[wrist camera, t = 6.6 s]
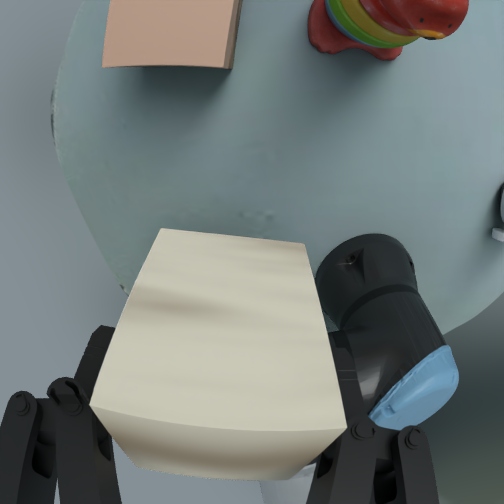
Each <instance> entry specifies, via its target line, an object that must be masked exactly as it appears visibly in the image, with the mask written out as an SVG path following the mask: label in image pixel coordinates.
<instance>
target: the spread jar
mask: <svg viewBox="0 0 504 504" xmlns="http://www.w3.org/2000/svg"><path fill="white" fill-rule="evenodd" d="M499 207H500V214H501V218H502V220H503V222H504V185H503V187H502V190H501V193H500V200H499ZM492 238H494V239H496V240H499V241H502V242H504V229H500V228H493V230H492Z"/></svg>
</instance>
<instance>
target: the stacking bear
mask: <svg viewBox="0 0 504 504" xmlns="http://www.w3.org/2000/svg"><path fill="white" fill-rule="evenodd" d="M468 6H469V0H314V1H313V4H312V6H311V9H310V13H309V18H308V33H309V39H310V42H311V44H312V45H313V46H316V47H317V49H318V51H320V52H323V53H324V52H327V53H329V54H336V53H338V52H340V51H342V50H345V49H349V48H359V49H363V50H366V51H368V52H370V53H371V54H373V55H374V56H375V57H376V58H378V59H380V60H386V59H387V60H394V59H395V58H396V57H397V56H399V55H400V54H401V52H402V47H403V46H404V45H407V44H409V43H412V42H413V41H415V40H417V39H418V38H419V37H423V38H425V39H428V40H436V39H443V38H445V37H447V36H449V35H451V34H452V33H454V32H455V31H456V30H457V29H458V28H459V26H460V25H461V23H462V22H463V20H464V18H465V16H466V14H467V11H468Z"/></svg>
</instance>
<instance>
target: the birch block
mask: <svg viewBox="0 0 504 504" xmlns="http://www.w3.org/2000/svg"><path fill="white" fill-rule="evenodd" d="M89 405H90V407H91V408H92V410H93V411H94V413H95V414H96V416H97V417H98V418H99V420H100V421H101V423H102V424H103V425H104V427H105V428H106V429H107V431H108V432H109V433H110V435H111V436H112V437H113V439H114V440H115V441H116V442H117V444H118V445H119V446H120V447H121V449H122V450H123V451H124V452H125V454H126V455H127V456H128V457H129V458H130V460H131V461H132V462H133V463H134V464H135V465H136V466H137V467H139V468H143V469H149V470H153V471H159V472H165V473H171V474H178V475H184V476H192V477H202V478H211V479H225V480H247V481H278V480H289V479H290V478H292V477H293V476H294V475H295V474H297V473H298V472H299V471H300V470H302V469H303V468H304V467H305V466H306V465H308V464H309V463H310V462H311V461H312V460H313V459H314V458H316V457H317V456H318V455H319V454H320V453H321V452H322V451H323V450H325V449H326V448H327V447H328V446H329V445H330V444H331V443H332V442H333V441H334V440H335V439H336V438H337V437H338V436H339V435H340V434H341V433H343V432H344V431H345V430H346V429H347V424H346V419H345V414H344V408H343V403H342V398H341V393H340V389H339V384H338V379H337V374H336V370H335V365H334V361H333V356H332V352H331V347H330V343H329V339H328V334H327V330H326V326H325V322H324V318H323V314H322V309H321V305H320V301H319V297H318V294H317V290H316V286H315V282H314V278H313V274H312V270H311V267H310V263H309V259H308V256H307V252H306V248H305V245H304V244H303V243H294V242H285V241H276V240H267V239H258V238H249V237H240V236H231V235H222V234H212V233H203V232H193V231H183V230H173V229H163V228H161V229H160V231H159V233H158V235H157V237H156V239H155V241H154V244H153V246H152V248H151V250H150V252H149V254H148V256H147V258H146V260H145V263H144V265H143V267H142V269H141V271H140V274H139V276H138V278H137V280H136V283H135V285H134V287H133V289H132V292H131V294H130V296H129V299H128V301H127V303H126V306H125V308H124V311H123V313H122V315H121V318H120V320H119V323H118V325H117V328H116V330H115V333H114V336H113V338H112V341H111V343H110V346H109V349H108V351H107V354H106V357H105V360H104V362H103V365H102V368H101V371H100V374H99V377H98V379H97V382H96V385H95V388H94V391H93V395H92V398H91V401H90V404H89Z"/></svg>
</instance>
